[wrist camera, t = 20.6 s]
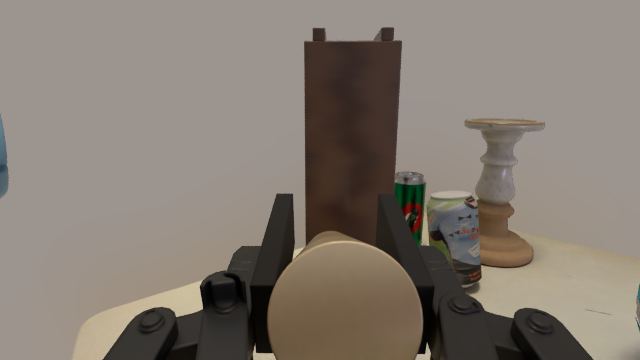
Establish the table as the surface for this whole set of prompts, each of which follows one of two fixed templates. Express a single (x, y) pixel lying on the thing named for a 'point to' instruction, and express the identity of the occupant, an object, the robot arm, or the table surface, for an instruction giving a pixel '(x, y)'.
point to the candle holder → (500, 191)
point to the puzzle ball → (638, 307)
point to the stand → (350, 131)
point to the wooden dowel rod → (344, 304)
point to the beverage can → (456, 232)
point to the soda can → (411, 200)
